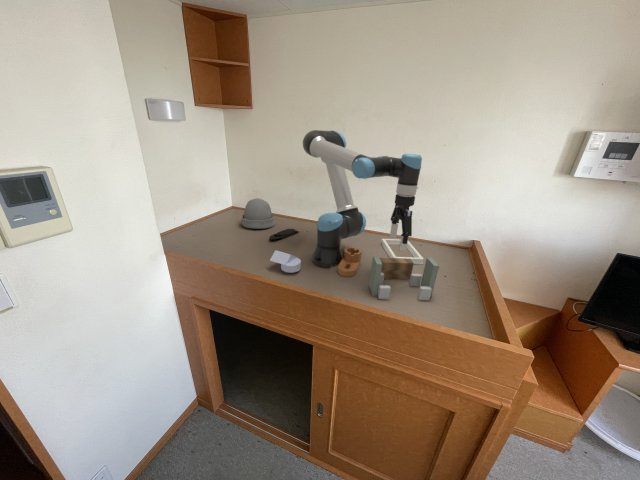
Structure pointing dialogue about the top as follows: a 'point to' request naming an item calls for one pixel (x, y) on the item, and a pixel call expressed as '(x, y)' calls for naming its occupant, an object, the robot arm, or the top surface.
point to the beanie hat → (257, 215)
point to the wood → (283, 234)
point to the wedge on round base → (286, 261)
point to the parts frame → (417, 257)
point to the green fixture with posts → (415, 280)
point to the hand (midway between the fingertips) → (397, 243)
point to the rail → (396, 268)
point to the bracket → (350, 262)
